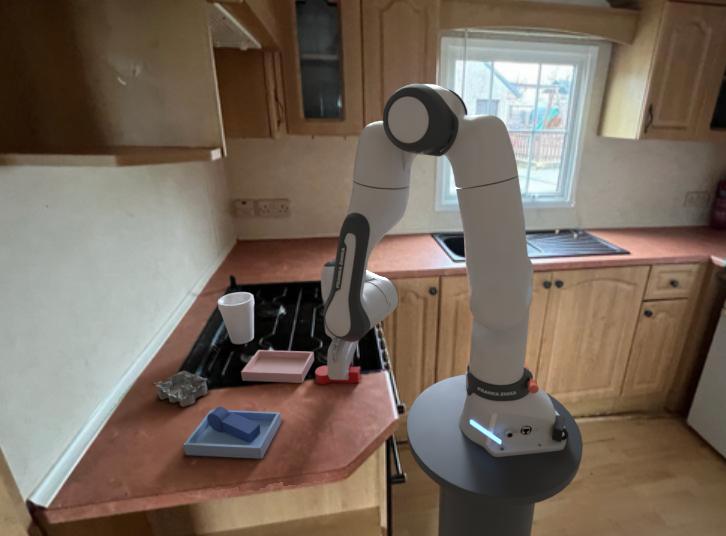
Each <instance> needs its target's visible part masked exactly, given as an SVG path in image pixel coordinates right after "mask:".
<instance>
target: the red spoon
mask: <svg viewBox="0 0 726 536" xmlns="http://www.w3.org/2000/svg"><path fill="white" fill-rule="evenodd" d="M348 371H349V378H348V380H331V379H330V378H329V377H328V365H321V366H319V367H317V368H316V369H315V370H314V375H315V382H317V383H318V384H321V385H326V384H329V383H351V384H352V383H353V384H356V383H357V384H359V383H360V380H361V366H353V367H349V368H348Z"/></svg>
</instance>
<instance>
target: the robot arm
mask: <svg viewBox="0 0 726 536" xmlns="http://www.w3.org/2000/svg"><path fill="white" fill-rule="evenodd" d="M382 112H383V113H382V120H378V121H377V120H376V121H373V122H371V123H368V124H367V125H365V126H364V127H363V129H361V131H360V134H359V138H358V141H357V145H356V151H355V157H354V162H353V163H354V164H353V173H352V187H351V195H350V200H349V205H348V210H347V212H346V215H345V218H344V220H343V222H342V225H341V228H340V231H339V236H338V242H337V246H336V247H337V248H336V254H335V258H333V259H331V260H329V261H327V262H326V263H324V265H323V266H322V268H321V274H320V289H321V291H320V292H321V298H322V302H323V303H324V306H323V323H324V332H325V333H324V334H326V335H327V336H328V337H330V338H331V342H330V344H329V347H328V349H327V356H326V357H327V359H326V360H327V361H326V362H327V366H328V377H329V378H330V379H331V380H348V378H349V371H348V368H349V367H354V357H355V356H354V355H355V352H356V349H357V347H358V344H359V342H360V340H361V339H363V338H364V336H366V335H367V334H368V332H370V330H372V329H373V328H374V327H376V326H377V325H378V324H379V323H381V322H382V321H384V320H385V319H386V318H387V317H389V316H390V315H392V313H394V311H396V310H397V308H398V306H399V300H400V299H399V293H398V290H397V287H396V285H395V283H393V282H392V281H391V280H390V279H389V278H388V277H386V276H384V275H378V274H375V273H373V272H371V271H369V270H368V265H369V260H370V257H371V254H372V252H373V251H374V249H375V247H376V246H377V245H378V243H380V241H381V240H382V239H383V238H384V237H385V236H386V235H387V234H388V233H389V232H390V231H391V230H392V229H394V228H395V227H396V226H397V225H398V223H400V221H402V219H403V217H404V216H405V212H406V210H407V206H408V202H409V198H410V190H411V189H410V187H411V177H412V168H413V165H414V161H415V159H416V158H417V157H418V155H419V156H421V155H423V156H430V157H438V158H439V157H443V156H444V157H445V158H447V160H448V161H449V163H450V166H451V170H452V173H453V180H454V185H455V190H456V197H457V202H458V203H457V204H458V208H459V213H460V219H461V224H462V230H463V242H464V244H463V245H464V259H465V271H466V280H467V288H468V289H467V290H468V303H469V310H470V313H471V316H472V317H473V318H472V324H471V332H470V346H469V362H468V364H467V367H466V372H465V375H466V391H467V394H466V399H465V403H464V407H463V410H462V412H461V414H460V417H459V425H460V428H461V430H462V432H463V433H464V434H465V435H466V436H467V437H468V438H469V439H470V440H472V441H473V442H475V443H477V444H479V445H481V446H482V447H484V448H485V449H486V450H487V451H488V452H489V453H490V454H491V455H492V456H494V457H504V456H513V455H522V454H532V453H541V452H551V451H560V450H563V449H564V447H565V445H566V439H567V438H568V432H567V430H566V429H565V426H564V424H565V417H563V416H560V415H559V414H558V412H557V411H556V410H555V409H554V406H553V404H552V401H551V399H550V398H549V396H548V395H547V393H548V392H547V391H545V390H544V389H542V388H541V387H539V385H538V382H537V381H536V380H534V375H533V373H532V372H531V371H530V368H529V366H528V364H526V352H527V344H528V335H529V334H528V333H529V324H530V313H531V312H530V311H531V305H532V301H533V293H534V292H533V291H534V290H533V289H534V272H535V271H534V270H535V269H534V264H533V262H532V260H531V258H530V256H529V255H528V244H527V243H528V242H527V233H526V222H525V221H526V220H525V213H524V207H523V200H522V199H523V198H522V192H521V185H520V176H519V169H518V164H517V159H516V155H515V151H514V147H513V144H512V141H511V136H510V133H509V130H508V129H507V126H506V124H505V122H504V121H503V120H502V119H501V118H500V117H498V116H496V115H493V114H485V113H483V114H482V113H481V114H474V115H469V111H468V107H467V105H466V103H465V102H464V99H463V98H462V97H461V96H460V95H459V94H457V92H455V91H454V90H453V89H449V88H445V87H443V86H441V85H437V84H432V83H412V84H407V85H405V86H402V87H400V88H399V89H397V90H396V91H395V92H393V93H392V95H390V97H389V98H388V99H387V102H386V104H385V105H384V108H383V111H382Z"/></svg>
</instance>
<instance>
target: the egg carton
mask: <svg viewBox="0 0 726 536" xmlns="http://www.w3.org/2000/svg"><path fill="white" fill-rule="evenodd" d="M208 380H209V378H207V377H206V378H205V377H203V376H199V374H198V375H197V374H194V373H190V372H189V371H187V370H182V371H179V372H177V373H176V374H173V376H171V377H167V380H166V381H165V382H164V383H163V382H162V380H161V381H158V382H153V383H152V385H155V386H156V387H158V390H157V395H158V398H159V399H160V400H166V399H168V400H169V402H170V403H172V404H175V403H177V402H179V405H180V407H183V408H184V407H187V406H190V405H193V404H194V403H196V399H197V398H198V397H201V396H205V395H207V394H208V385H207V381H208Z"/></svg>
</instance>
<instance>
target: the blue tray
mask: <svg viewBox="0 0 726 536" xmlns="http://www.w3.org/2000/svg"><path fill="white" fill-rule="evenodd" d="M214 410H215V409H213V408H212V409H210V410H209V412H207V414H206V415H205V417H204V418H203V419H202V421H200V423H199V424H198V425H197V427H196V428H195V429H194V431H193V432H192V433H191V435H189V437H188V438H187V439H186V441H184V443H183V448H184V453H185V455H186V456H197V457H198V456H199V457H221V458H239V459H240V458H241V459H242V458H243V459H261V460H262V459H263V458H264V455H265V454H266V452H267V450H268V448H269V446H270V444H271V442H272V441H273V438H274V437H275V435H276V433H277V431H278V430H279V427H280V425H281V424H282V416H281V415H282V414H281V412H280V411H259V410H257V411H255V410H235V409H234V410H233V409H227V410H228V411H229V412H233V413H235V414H238V415H240V416H242V417H244V418H247V419H249V420H251V421H253V422H256V423H258V424H260V434H259V435H258V436H257V437H256V438H255V439H254V440H252V441H251V442H250V443H249V442H246V441H244V440H242V439H240V438H238V437H236V436H234V435H231V434H229V433H227V432H225V431H221V432H218V431H216V430H214V429H213V428H212V427H211V426H210V425H209V423H208V420H207V417H208V415H209V414H210V413H211V412H213V411H214Z"/></svg>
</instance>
